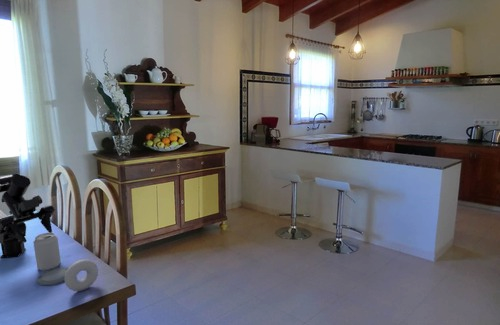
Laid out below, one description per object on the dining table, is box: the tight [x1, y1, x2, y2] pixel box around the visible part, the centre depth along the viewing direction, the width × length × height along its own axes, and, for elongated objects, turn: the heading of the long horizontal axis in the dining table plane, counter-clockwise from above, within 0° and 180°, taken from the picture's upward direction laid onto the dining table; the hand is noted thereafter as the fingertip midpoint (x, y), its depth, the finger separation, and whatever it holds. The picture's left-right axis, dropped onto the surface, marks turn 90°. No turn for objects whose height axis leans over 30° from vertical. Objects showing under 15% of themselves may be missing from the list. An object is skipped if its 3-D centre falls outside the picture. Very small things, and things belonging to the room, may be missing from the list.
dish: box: [37, 267, 69, 287], centre depth 117 cm, size 10×10×1 cm
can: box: [33, 232, 61, 272], centre depth 124 cm, size 8×8×12 cm
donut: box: [64, 258, 99, 292], centre depth 109 cm, size 10×4×10 cm, turn 136°
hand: (38, 237), depth 124 cm, fingers open, 9 cm apart
